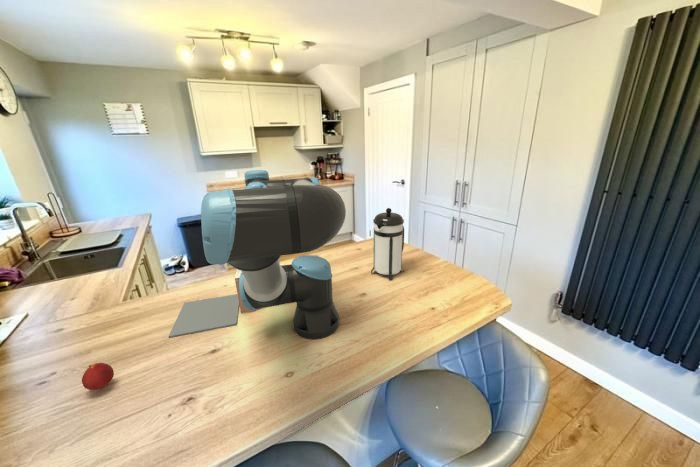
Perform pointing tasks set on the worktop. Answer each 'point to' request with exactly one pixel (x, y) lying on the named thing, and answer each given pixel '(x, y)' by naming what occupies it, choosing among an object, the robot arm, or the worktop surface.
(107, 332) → the worktop surface
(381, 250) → the coffee press
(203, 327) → the mat
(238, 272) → the tall block
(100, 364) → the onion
